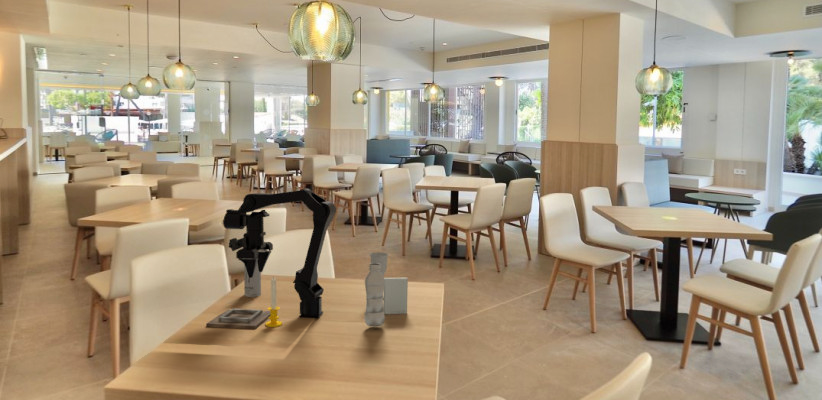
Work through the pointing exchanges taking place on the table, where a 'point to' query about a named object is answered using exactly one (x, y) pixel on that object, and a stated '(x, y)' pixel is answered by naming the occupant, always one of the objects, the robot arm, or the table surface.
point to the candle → (273, 307)
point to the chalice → (380, 261)
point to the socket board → (240, 319)
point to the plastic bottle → (374, 296)
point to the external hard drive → (395, 295)
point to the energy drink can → (252, 283)
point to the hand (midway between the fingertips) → (255, 274)
